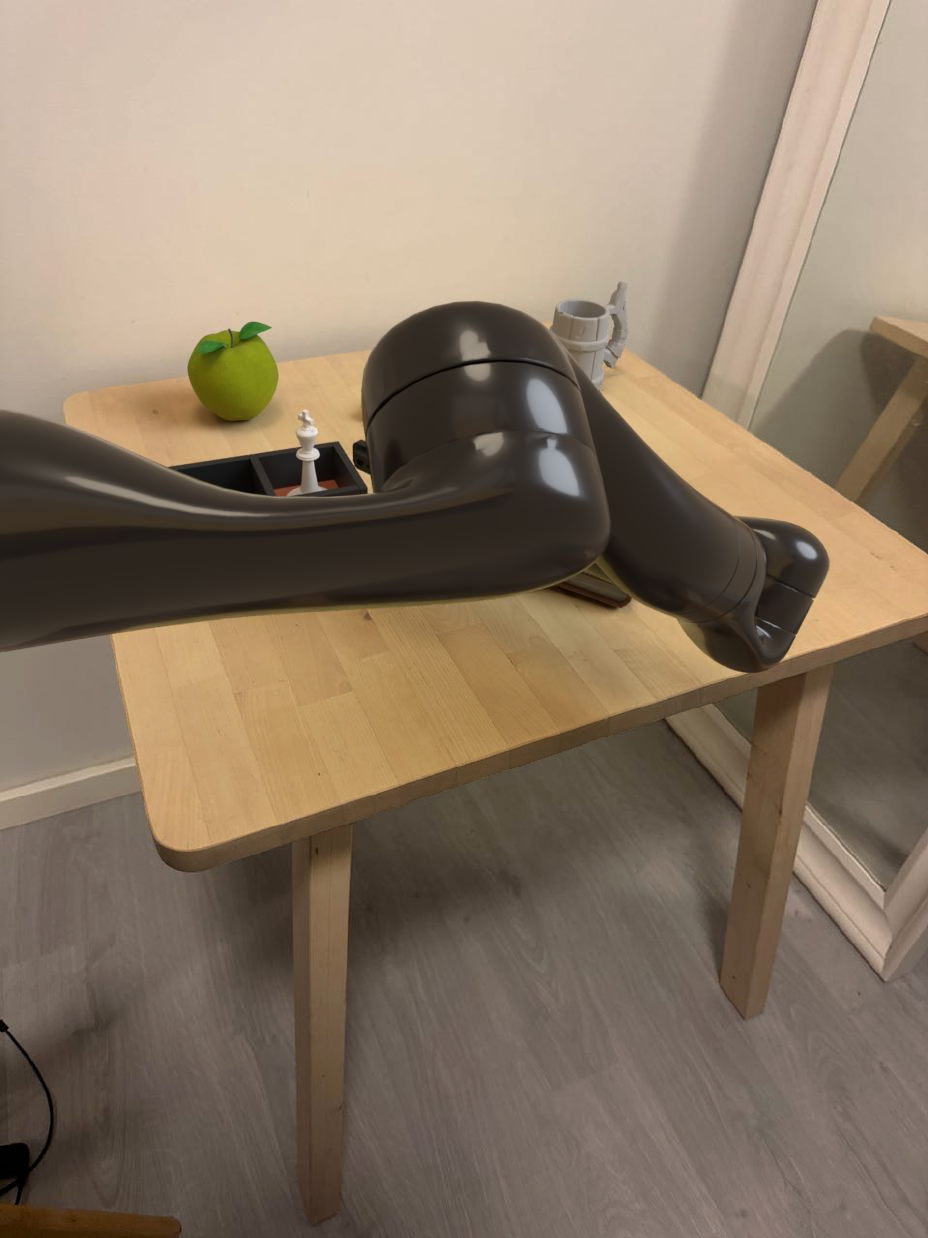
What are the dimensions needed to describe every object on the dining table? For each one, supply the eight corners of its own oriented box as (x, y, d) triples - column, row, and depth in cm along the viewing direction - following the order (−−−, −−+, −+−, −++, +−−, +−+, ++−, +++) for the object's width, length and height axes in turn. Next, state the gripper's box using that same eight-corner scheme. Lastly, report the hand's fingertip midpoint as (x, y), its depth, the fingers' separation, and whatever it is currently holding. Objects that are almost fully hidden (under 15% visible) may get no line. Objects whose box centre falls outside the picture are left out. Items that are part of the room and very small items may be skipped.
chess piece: (312, 485, 90) (307, 392, 83) (347, 505, 87) (344, 411, 81) (273, 504, 87) (265, 410, 80) (308, 525, 84) (303, 430, 78)
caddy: (183, 562, 80) (176, 520, 77) (166, 508, 86) (159, 467, 83) (368, 527, 86) (368, 487, 83) (339, 479, 92) (338, 440, 89)
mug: (527, 381, 112) (538, 284, 104) (597, 361, 118) (613, 268, 110) (567, 406, 108) (582, 307, 100) (638, 385, 113) (657, 290, 106)
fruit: (297, 418, 101) (291, 332, 95) (223, 443, 96) (212, 353, 90) (252, 388, 106) (244, 304, 100) (180, 409, 101) (167, 322, 95)
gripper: (608, 427, 71) (443, 363, 77) (504, 501, 62) (329, 421, 68) (593, 507, 75) (439, 441, 82) (495, 587, 66) (332, 505, 73)
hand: (389, 432), depth 75 cm, fingers open, 8 cm apart
